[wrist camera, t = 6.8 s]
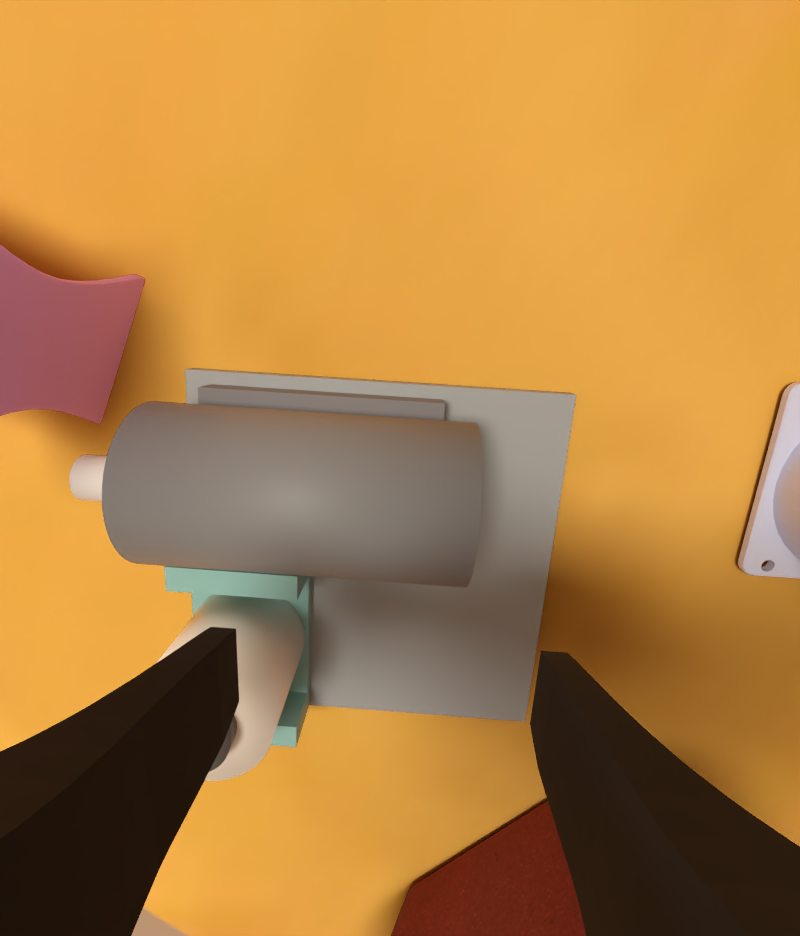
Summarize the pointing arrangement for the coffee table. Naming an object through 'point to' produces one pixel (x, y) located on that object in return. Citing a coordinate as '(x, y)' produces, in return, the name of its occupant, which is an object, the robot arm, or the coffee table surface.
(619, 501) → the coffee table surface
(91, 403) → the toy chair
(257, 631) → the cream canister
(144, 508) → the motor assembly
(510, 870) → the plant pot
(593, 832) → the robot arm
